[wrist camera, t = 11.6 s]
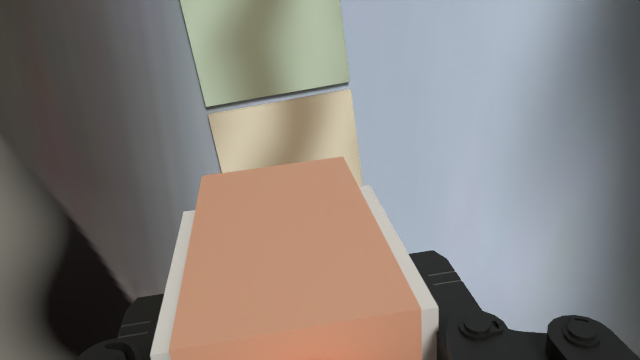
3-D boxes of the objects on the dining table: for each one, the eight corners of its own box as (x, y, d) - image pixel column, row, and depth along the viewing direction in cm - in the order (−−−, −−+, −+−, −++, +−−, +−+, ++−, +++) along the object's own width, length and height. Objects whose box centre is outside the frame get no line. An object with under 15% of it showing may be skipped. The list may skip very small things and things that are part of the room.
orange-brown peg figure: (343, 156, 17) (526, 513, 6) (352, 274, 18) (506, 713, 8) (202, 175, 16) (121, 596, 5) (225, 294, 18) (200, 787, 7)
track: (302, -297, 24) (302, -300, 23) (379, 321, 38) (380, 324, 38) (114, -271, 23) (113, -274, 23) (264, 344, 38) (264, 347, 37)
